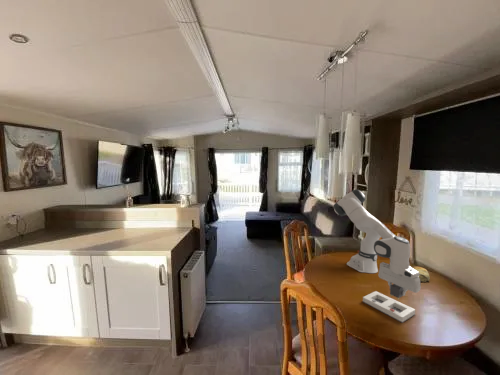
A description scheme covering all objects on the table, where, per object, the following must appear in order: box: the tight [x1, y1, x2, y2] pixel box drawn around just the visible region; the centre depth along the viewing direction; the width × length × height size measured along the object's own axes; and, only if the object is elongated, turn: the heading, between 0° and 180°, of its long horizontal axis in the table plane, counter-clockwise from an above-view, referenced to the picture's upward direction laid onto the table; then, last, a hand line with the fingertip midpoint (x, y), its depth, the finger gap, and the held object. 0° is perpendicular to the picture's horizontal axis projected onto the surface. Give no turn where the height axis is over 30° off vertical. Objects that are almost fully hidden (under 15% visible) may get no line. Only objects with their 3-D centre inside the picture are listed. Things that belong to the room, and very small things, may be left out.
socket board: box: [362, 290, 416, 324], centre depth 136 cm, size 22×13×4 cm, turn 31°
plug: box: [389, 283, 404, 300], centre depth 130 cm, size 4×6×6 cm
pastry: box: [411, 265, 431, 283], centre depth 171 cm, size 14×12×8 cm
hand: (397, 292), depth 131 cm, fingers closed on plug, 4 cm apart
